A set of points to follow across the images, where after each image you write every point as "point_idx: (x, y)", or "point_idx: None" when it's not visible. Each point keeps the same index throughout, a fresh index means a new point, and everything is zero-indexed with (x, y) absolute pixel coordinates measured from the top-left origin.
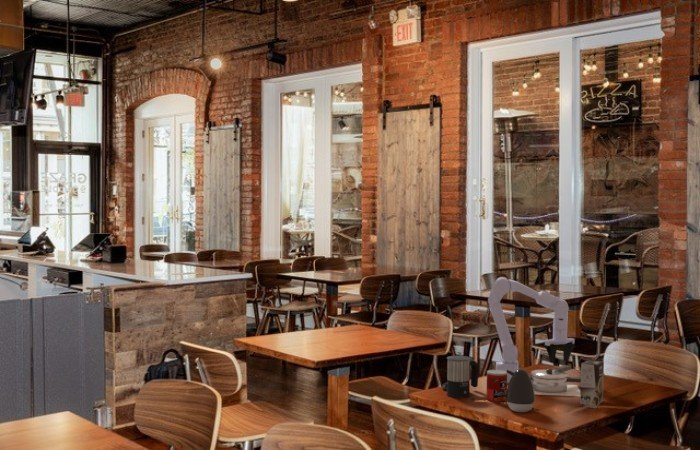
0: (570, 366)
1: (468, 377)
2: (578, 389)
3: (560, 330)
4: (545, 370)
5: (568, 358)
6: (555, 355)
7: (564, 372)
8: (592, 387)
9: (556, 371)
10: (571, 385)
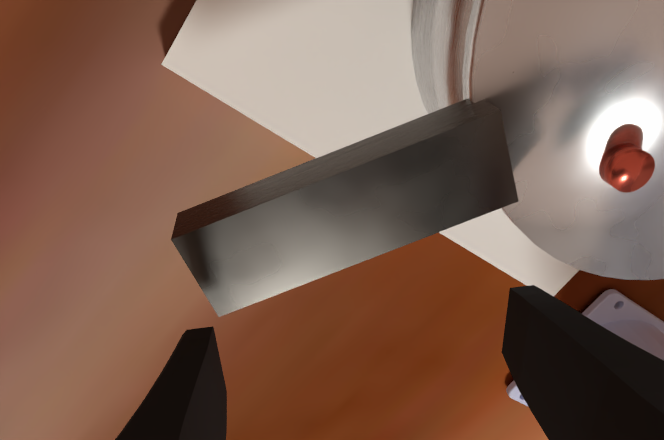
0: (193, 231)
1: None
2: None
3: None
4: (614, 223)
5: (192, 356)
6: (601, 359)
7: (500, 1)
8: None
9: (544, 118)
10: (241, 68)
